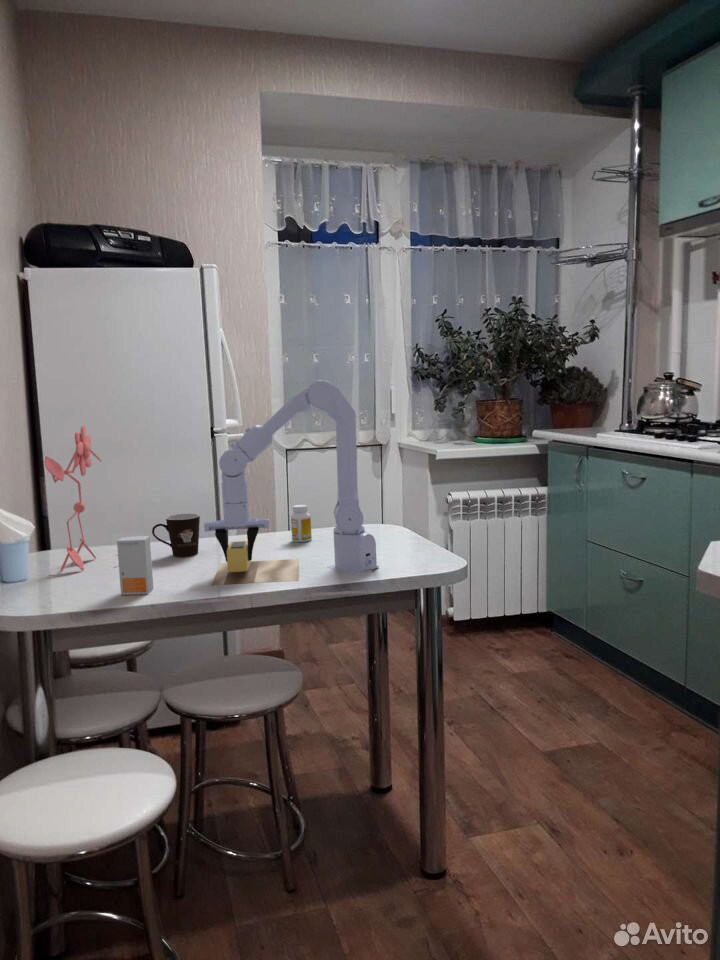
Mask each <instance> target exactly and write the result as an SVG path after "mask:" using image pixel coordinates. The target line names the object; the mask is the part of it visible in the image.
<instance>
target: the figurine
mask: <svg viewBox="0 0 720 960" xmlns="http://www.w3.org/2000/svg"><path fill="white" fill-rule="evenodd" d="M74 443H75V446H76V447H75V452H74V453H73V454H72V457H71V459H70V461H69V463H68V466H67V467H66V469H65V470H64V469H63V467H62V465H60V463H58V461H56V460H55V459H53V458H51V457H49V456H45V457H44V466H45V468H46V470H47V472H49V474H51V477H52V480H53V481H54V483H57V482H58V481H61V482H64V480H65V476H66V475H67V476H68V477H69V478H71V479H72V480H73V481H74V482H75V483H76V484H77V488H78V490H77V491H78V498H79V499H78V500H79V501H78V502H75V503H74V505H73V511H74V513H73V514H72V516H70V518H69V519H67V521H66V527H67V532H68V533H67V534H68V538H69V545H67V546H66V552H67V554H66V556H65V559H64V561H63V563H62V565H61V568H60V571H62V572H63V571H64V569H65V566H66V565H67V563H68V559H69V558H70V560H71V561H72V562H73V563H74V564H75V565H76V566H77V567H78V568H79V569H80V570H81V571H85V565H84V562H83V559H82V557H81V555H80V552H81V549H82V548H83V546H84V548H86V550H87V551H88V552H89V554H90V555H91V556H92V557H93V558H94V559H97V557H96V555H95V554H94V553H93V551H92V550H91V549H90V548H89V546H88V545H87V544H86V540H85V539H84V532H83V528H82V524H81V517H80V514H81V513H83V512H84V510H85V509H86V506H85V504H84V503H83V501H82V491H81V489H82V487H81V483H80V480H78V479H77V478H75V477H74V476H73V475H71V474H74V473H75V470H76V468H77V467H79V470H80V475H81V476H82V477H83V476H86V473H87V469H86V468H90V467H91V466H92V460H91V457H90V454H92V455H93V456H94V457H95V458H96V459H97V460H99V462H102V459H101V458H100V457H99V456H98V455H96V453H95V452H94V451H93V450H92V449H91V445H92V436H91V434H90V433H89V434H88V435H87V429H86V426H85V425H82V426H81V427H80V432H79V431H76V432H75V433H74ZM72 463H74V464H73V467H72V470H69V469H70V468H71V466H72ZM76 515H77V518H78V519H77V520H78V524H79V529H80V534H81V538H79V541H80V544H79V547H78V549H77V550H76V549H75V548H74V547H73V545H72V537H71V531H70V525H69V524H70V523H69V522H70V521H71V520H72V519H73V518H74V517H75V516H76ZM116 556H118V554H116ZM115 568H119V565H117V566H114V567H113V569H115ZM48 576H49V577H50V576H51V577H55V576H56V575H55V574H48Z"/></svg>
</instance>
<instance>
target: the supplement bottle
mask: <svg viewBox="0 0 720 960" xmlns="http://www.w3.org/2000/svg"><path fill="white" fill-rule="evenodd" d="M308 510H309V507H308V505H307V504H296V505H293V506H292V511H293V513H292V514H291V515H290V523H291V525H290V526H291V527H290V528H291V541H292V542H294V543H306V542H310V541H312V521H311V520H312V518H311V514H310V513H309V512H308Z"/></svg>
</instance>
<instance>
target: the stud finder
mask: <svg viewBox="0 0 720 960" xmlns="http://www.w3.org/2000/svg"><path fill="white" fill-rule="evenodd" d="M228 545H229V546H228V548H227V562H226V563H227V564H228V572H242V571H248V569H249V565H250V562H251V561H248V540H243V541H242V540H241V541H239V540H238V541H230V542H229V543H228Z"/></svg>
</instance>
